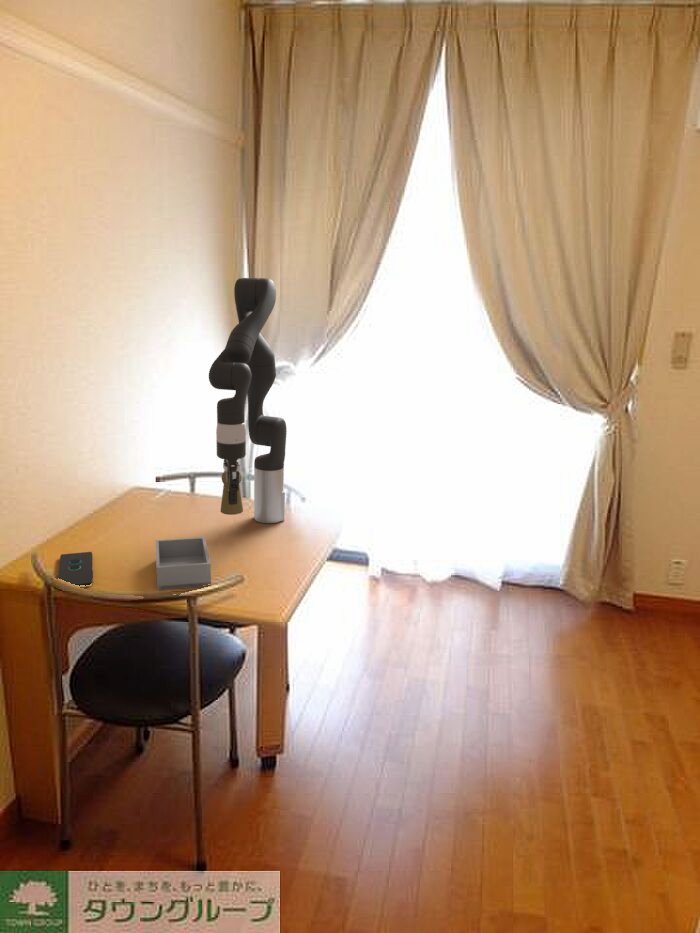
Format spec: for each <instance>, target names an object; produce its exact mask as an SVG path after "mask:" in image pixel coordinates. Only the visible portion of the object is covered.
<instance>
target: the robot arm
mask: <svg viewBox="0 0 700 933" xmlns="http://www.w3.org/2000/svg"><path fill="white" fill-rule="evenodd" d="M233 292H234V293H233V294H234V295H233V296H234V303H235V309H236V315H237V319H238V321H237V322H238V323H237V324H236V325H235V326H234V328H233V329H232V330H231V332H230V334H229V335H228V336H229V337H228V339H227V341H226V345H225V347H224V349H223V350H222V351H221V353H220V354H219V355H218V356H217V357H216V358H215V359H214V361H213V362H212V363H211V366H210V367H209V371H208V381H209V384H210V385H211V387H212V388H213V389H216V390H223V391H224V390H225V391H235V393H234V396H233V397H227V398H221V399H220V400H218V401H217V403H216V433H215V434H216V456H217V457H218V458H219V459H220V460H221V459H222V460H223V463H222V466H223V473H224V472H225V475H226V482H227V483H228V499H229V504H230V505H234V504H237V491H238V490H239V485H240V483H239V474H241V473H240V471H241V467H240V465H241V464H239V461H238V460H240V459H241V460H242V459H244V458H245V456H246V455H247V452H246V451H247V447H246V446H247V444H246V441H247V440H246V438H247V437H246V435H247V434H246V433H247V432H246V424H245V418H246V417H245V416H246V415H245V408H246V401H247V418H248V420H247V422H248V423H247V424H248V428H247V429H248V437H249V439H250V442H251V443H252V444H253V445H257V446H264V447H270V450H269V453H265V454H261V455H258V456H256V457H255V458H254V461H253V462H254V463H253V464H254V465H253V467H254V468H253V469H254V471H253V473H254V476H253V480H254V481H253V482H254V483H253V485H254V487H253V490H254V492H253V493H254V494H253V497H254V498H253V505H254V506H253V508H254V509H253V510H254V511H253V514H254V516H253V519H254V521H256V522H258V523H261V524H262V523H263V524H275V523H280V522H284V521H285V515H286V514H285V513H286V510H285V508H286V507H285V506H286V502H285V501H286V492H285V490H284V489H285V488H284V486H285V485H284V480H285V479H284V478H285V477H284V476H285V474H284V473H285V472H284V471H285V459H286V444H287V432H288V431H287V423H286V421H285V419H284V418H282V417H279V416H278V417H277V416H268V415H264V410H263V406H264V401H265V398H266V397H267V395H268V393H269V391H270V390H271V388H272V387H273V384H274V382H275V381H276V376H277V369H276V368H277V367H276V359H275V354H274V352H273V349H272V348H271V346H270V345H269V343H268V342H267V340H266V339H265V338H264V336H263V335H262V334H261V331H262V330H263V328H264V326H265V324H266V323H267V321H268V319H269V317H270V316H271V314H272V312H273V310H274V307H275V305H276V301H277V288H276V285H275V282H274V281H273V280H272V279H270V278H267V277H264V278H263V277H240V278H237V280H236V281H235V283H234V290H233ZM228 476H229V479H228ZM231 484H235V486H231Z"/></svg>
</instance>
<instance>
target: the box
mask: <svg viewBox="0 0 700 933" xmlns="http://www.w3.org/2000/svg"><path fill="white" fill-rule="evenodd" d="M155 565H156V566H155V568H156V569H155V570H156V590H157V591H161V590H162V591H165V590H174V589H175V590H176V589H186V588H201V587H204V586H203V585H208V584H211V585H212V573H211V572H212V571H211V570H212V568H211V565H212V564H211V560H210V554H209V549H208V545H207V540H206V536H201V537H186V538H182V537H181V538H169V539H167V538H166V539H156V540H155ZM200 586H201V587H200Z"/></svg>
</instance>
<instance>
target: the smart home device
mask: <svg viewBox="0 0 700 933" xmlns="http://www.w3.org/2000/svg"><path fill="white" fill-rule="evenodd" d="M93 571H94V570H93V552H92V551H84V552H83V551H82V552H74V553H62V554H60V556H59V563H58V572H57V578H59V579H62V580H64V581H66V582H70V583H71V584H75V585H79V586H80V585H85V586H86V585H90V584H91V583H92V584H93V580H92V578H93V577H94V576H93V575H94V572H93ZM93 579H94V578H93Z"/></svg>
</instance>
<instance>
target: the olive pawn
mask: <svg viewBox="0 0 700 933" xmlns="http://www.w3.org/2000/svg"><path fill="white" fill-rule="evenodd" d="M228 479H229V476H228ZM221 482H222V484H223V485H222V486H223V488H222V494H221V504H220V513H221V514H224V515H228V516H229V515H231V516H233V515H239V514H242V513H243V512H244V507H243V501H242V493H241V487H240V485H241V482H242V474H241V473H240V474H239V490H238V491H237V504H234V505H230V504H229V499H228V483H227V482H226V475H225V472H224V471H223V472H222V474H221ZM231 486H235V484H231Z"/></svg>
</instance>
